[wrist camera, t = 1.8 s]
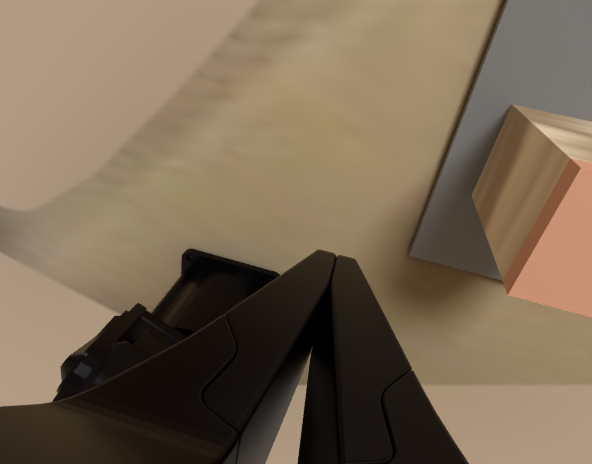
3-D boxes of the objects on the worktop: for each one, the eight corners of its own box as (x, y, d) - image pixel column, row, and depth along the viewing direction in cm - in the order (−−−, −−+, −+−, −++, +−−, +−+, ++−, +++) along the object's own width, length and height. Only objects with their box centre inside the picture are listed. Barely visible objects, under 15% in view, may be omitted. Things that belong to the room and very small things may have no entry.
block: (471, 195, 20) (507, 294, 13) (512, 104, 18) (581, 167, 11) (565, 218, 20) (652, 333, 13) (619, 128, 17) (761, 209, 11)
